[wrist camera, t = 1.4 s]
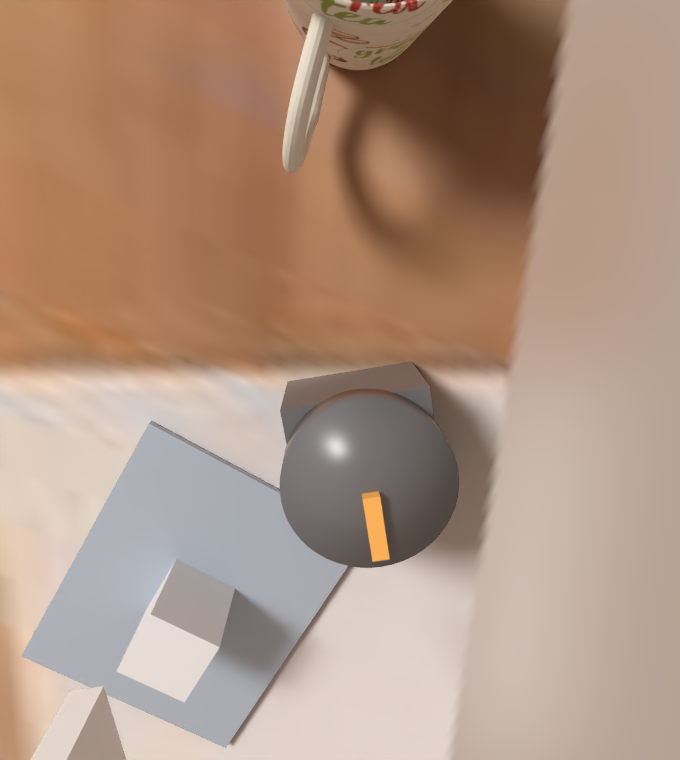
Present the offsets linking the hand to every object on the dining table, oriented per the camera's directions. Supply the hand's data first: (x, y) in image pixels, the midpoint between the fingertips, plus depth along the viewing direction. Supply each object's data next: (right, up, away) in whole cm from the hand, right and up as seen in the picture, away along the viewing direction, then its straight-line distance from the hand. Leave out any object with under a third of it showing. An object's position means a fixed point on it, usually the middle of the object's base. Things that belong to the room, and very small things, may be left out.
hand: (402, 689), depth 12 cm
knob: (0, +4, +17) cm, 17 cm away
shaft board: (-10, -5, +19) cm, 22 cm away
